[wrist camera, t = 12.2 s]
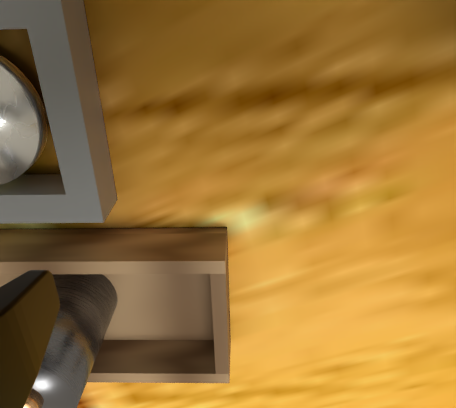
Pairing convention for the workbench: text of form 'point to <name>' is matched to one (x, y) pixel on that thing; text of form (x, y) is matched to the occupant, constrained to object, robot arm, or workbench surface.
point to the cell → (73, 339)
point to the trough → (143, 295)
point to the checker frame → (62, 119)
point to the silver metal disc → (19, 122)
